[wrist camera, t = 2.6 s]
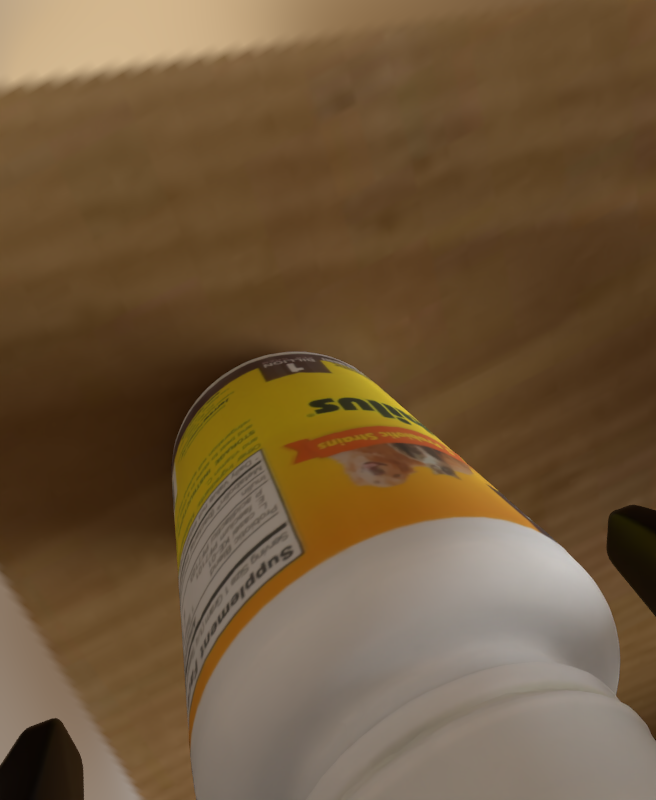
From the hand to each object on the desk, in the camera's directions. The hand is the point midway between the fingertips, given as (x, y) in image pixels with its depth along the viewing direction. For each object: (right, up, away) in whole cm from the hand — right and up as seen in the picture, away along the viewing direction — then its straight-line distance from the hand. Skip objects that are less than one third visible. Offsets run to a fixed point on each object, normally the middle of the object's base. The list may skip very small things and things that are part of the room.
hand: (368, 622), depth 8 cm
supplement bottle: (-2, +2, +5) cm, 6 cm away
